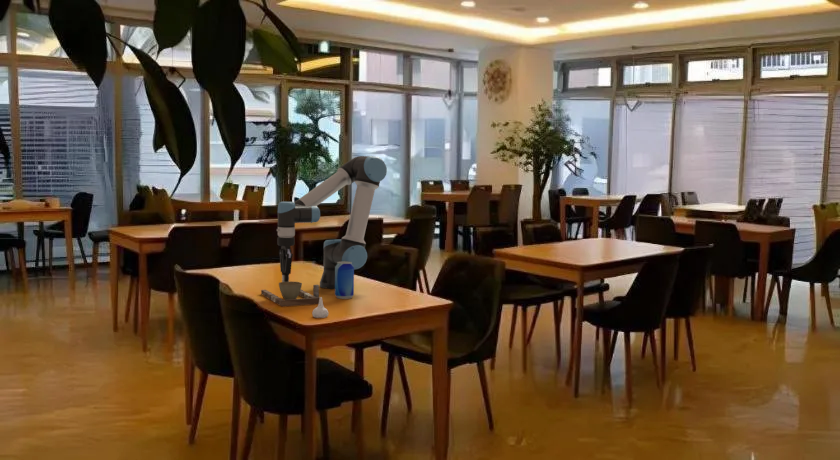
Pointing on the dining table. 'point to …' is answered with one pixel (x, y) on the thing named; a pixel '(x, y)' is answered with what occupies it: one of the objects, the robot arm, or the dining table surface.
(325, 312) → the garlic bulb
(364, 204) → the robot arm
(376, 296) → the dining table surface
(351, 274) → the beer can
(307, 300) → the rail channel
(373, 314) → the dining table surface
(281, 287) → the flower pot
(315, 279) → the dining table surface
